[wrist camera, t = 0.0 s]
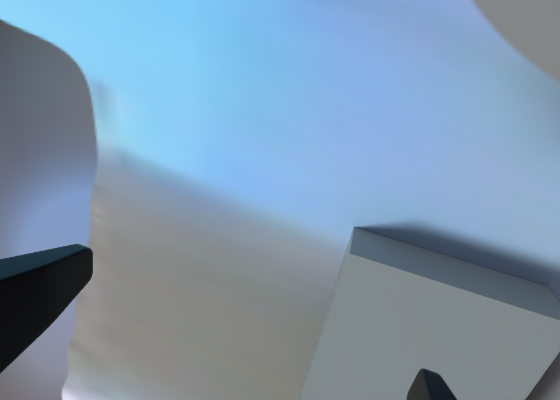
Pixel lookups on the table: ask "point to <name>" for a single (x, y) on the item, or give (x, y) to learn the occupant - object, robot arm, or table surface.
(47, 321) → the robot arm
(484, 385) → the slate box
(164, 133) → the table surface
